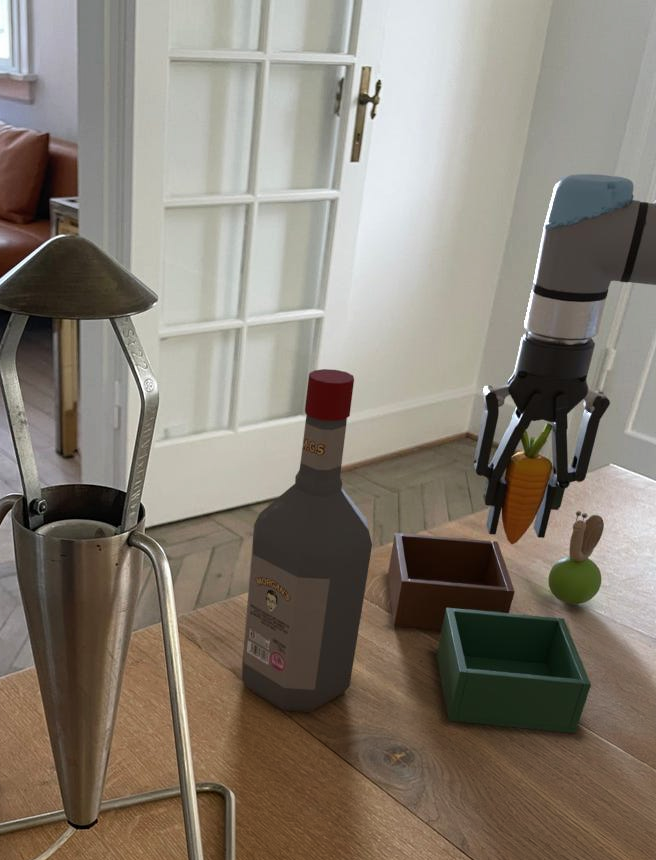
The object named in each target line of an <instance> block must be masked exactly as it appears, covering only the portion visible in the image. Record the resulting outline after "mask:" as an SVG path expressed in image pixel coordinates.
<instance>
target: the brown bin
mask: <svg viewBox="0 0 656 860" xmlns="http://www.w3.org/2000/svg"><path fill="white" fill-rule="evenodd" d="M389 559H390V560H389V565H388V570H387V580H388V589H389V597H390V606H391V613H392V622H393V626H394V627H397V628H398V627H400V628H410V629H420V630H430V631H431V630H432V631H441V630H442V625H443V621H444V616H445V611H446V608H453V609H454V608H455V609H466V610H477V611H488V612H499V613H510V611H511V607H512V604H513V599H514V596H515V588H514V585H513V583H512V580H511V577H510V574H509V571H508V568H507V565H506V563H505V559H504V556H503V554H502V550H501V547H500V544H499V542H498V541H495V540H484V539H473V538H472V539H470V538H460V537H448V536H437V535H425V534H414V533H413V534H412V533H401V532H395V533H394V536H393V542H392V548H391V554H390V558H389Z"/></svg>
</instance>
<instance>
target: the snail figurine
mask: <svg viewBox="0 0 656 860" xmlns="http://www.w3.org/2000/svg"><path fill="white" fill-rule="evenodd" d="M575 515H576V519H575V522H574V523H573V525H572V533H571V536H570V541H569V555H568V556H565V557H563V558H561V559H559V560H558V561H557V562H556V563H555V564H554V565H553V566H552V567H551V569H550V570H549V571H550V572H549V574H548V586H549V589H550V592H551V593H552V595H553V596H554V598H556V599H557V600H558V601H560V602H561V603H565V604H568V605H581V604H585V603H587V602H589V601H590V600H592V599H593V598H594V597H595V596H596V595H597V594H598V592H599V590H600V588H601V586H602V574H601V570H600V568H599V567H598V565H597V564H596V563H595V562H594V561H593V560H592V559H590V558H589V557H591V555H592V554H593V552H594V550H595V548H597V546H598V544H599V542H600V541H601V538H602V535H603V532H604V529H605V527H604V526H605V523H604V519H603V517H601V515H599V514H598V515H597V514H592V515H590V516H588V514H587V513H586V512H583V513H582V511H581V510H577V511H576V512H575ZM580 516H581V518H582V520H581V519H579V517H580Z"/></svg>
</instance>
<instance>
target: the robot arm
mask: <svg viewBox="0 0 656 860" xmlns="http://www.w3.org/2000/svg"><path fill="white" fill-rule="evenodd" d="M634 188H635V186H634V183H633V181H632V180H631V179H629V178H626V177H622V176H618V175H615V176H613V175H607V174H593V173H592V174H591V173H584V174H583V173H582V174H581V173H579V174H569V175H566V176H564V177H562V178H561V179H560V180H559V181H558V182H557V183H556V184H555V186H554V187H553V190H552V195H551V199H550V202H549V206H548V209H547V210H548V211H547V215H546V219H545V222H544V226H543V231H542V235H541V241H540V246H539V250H538V251H539V252H538V256H537V257H538V258H537V261H536V267H535V273H534V276H533V283H532V287H531V293H530V298H529V302H528V307H527V312H526V314H525V315H526V316H525V320H524V324H523V326H524V329H525V330H526V332H524V334H523V335H521V339H520V344H519V349H518V354H517V358H516V363H515V368H514V372H513V374H512V375H511V377H510V378H509V379H508V381H507V383H505V384H501V385H498V386H495V387H494V386H492V385H485V386H484V387H483V388H482V397H483V404H484V408H483V413H482V419H481V423H480V428H479V432H478V438H477V442H476V447H475V451H474V458H473V462H472V465H473V468H474V471H475V473H476V475H477V476H480V477H481V476H482V477H484V478H486V480H485V485H484V491H483V495H482V498H483V502H484V505H485V506H489V508H488V513H487V518H486V522H485V524H486V529H487V531H488V534H489V535H496V534H497V530H498V525H499V522H500V516H501V513H502V503H503V499H504V494H505V489H506V485H507V483H506V481H505V473H506V468H507V466H508V464H509V462H510V460H511V458H512V456H514V455H515V452H516V449H517V448H518V447H519V444H520V442H521V438H522V436H523V434H524V432H525V430H526V431H527V430H528V429H529V428H530V425H531V423H532V422H538V421H546V422H547V423H550V424H551V426H552V429H551V431H550V433H551V453H552V454H551V457H552V459H551V460H552V475H553V476H552V477H550V478H549V481H548V485H547V488H546V492H545V495H544V498H543V501H542V503H541V505H540V508H539V510H538V512H537V514H536V516H535V518H534V523H533V529H534V532H535V534H536V537H537V538H541V539H544V538H545V537H546V532H547V528H548V524H549V520H550V516H551V512H552V510H554V511H559V509H560V508H561V507H562V502H563V498H564V495H565V490H566V489H567V488H569V487H570V483H574V482H577V483H581V482H583V481H585V480H586V477H587V473H588V469H589V465H590V462H591V457H592V454H593V449H594V446H595V442H596V437H597V434H598V430H599V426H600V422H601V419H602V417H603V416H604V414H605V413H606V411H607V409H608V408H609V407H610V404H611V401H610V399H609V398H608V397H607V395H606V394H605V393H604V392H603V391H595V390H592V389H589V386H588V381H587V378H588V375H589V371H590V367H591V362H592V360H593V354H594V351H595V347H596V343H595V342H594V339H593V338H596V336H597V335H598V334H599V330H600V327H601V322H602V317H603V314H604V309H605V305H606V301H607V297H608V294H609V288H610V285H611V283H612V282H620V283H632V284H641V285H650V286H651V285H652V286H656V200H655V201H654V202H647V201H641V200H635V199H634V197H635V196H634V193H633V192H634ZM508 396H510V397H511V399H512V401H513V403H514V405H515V409H514V411H513V413H512V416H511V420H510V422H509V424H508V426H507V427H506V430H505V432H504V434H503V437H502V439H501V441H500V443H499V445H498V447H497V449H496V451H495V453H494V455H493V456H492V459H491V461H490V457H491V453H492V448H493V443H494V439H495V434H496V430H497V424H498V420H499V414H500V413H499V412H500V407H501V408H502V406H504V404H505V400H506V398H507V397H508ZM582 401H583V404H582V407H583V408H584V410H583V414H582V418H581V421H580V427H579V431H578V435H577V439H576V443H575V448H574V451H573V454H572V455H573V456H572V459H571V464H570V467H569V457H568V429H569V427H568V423H569V421H568V414H570V412H572V410H573V409H575V408H576V407H577V406H578V405H579V404H580V403H581V402H582ZM489 462H490V463H489Z"/></svg>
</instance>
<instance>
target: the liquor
mask: <svg viewBox="0 0 656 860" xmlns="http://www.w3.org/2000/svg"><path fill="white" fill-rule="evenodd" d="M307 380H308V381H307V388H306V397H305V404H304V405H305V406H304V413H305V416H306V417H305V421H304V422H305V423H304V431H303V438H302V447H301V455H300V456H301V457H300V463H299V469H298V471H297V473H296V475H295V476H294V477H295V479H294V484H293V485H291V486H290V487H289V488H288V489H286V491H284V492H283V493H282V494H281V495H279V497H277V498H276V499H274V501H272V502H271V503H269V505H267V506H266V507H265V508H264V509H262V510H261V511H260V512H259V514H258V516H257V518H256V520H255V522H254V523H253V535H252V544H251V545H252V546H251V555H250V556H251V557H250V567H249V569H250V570H249V580H248V592H247V593H248V594H247V604H246V615H245V626H244V627H245V628H244V639H243V650H242V663H241V667H242V668H241V680H242V682H243V684H244V685H245V687H246V688H247V689H249V690H251V691H252V692H254V693H255V694H257V695H259V697H261V698H263V699H264V700H266V701H267V702H269V703H270V704H272V705H274V707H277V708H278V709H280V710H282V711H285V712H304V713H311V712H313V711H314V710H316V709H318V708H320V707H321V706H323V705H325V704H327V703H329V702H330V701H332V700H333V699H336V698H337V697H339V696H341V695H342V694H344V693H345V692H346V691H347V689H348V688H350V686H351V679H352V672H353V668H354V667H353V666H354V661H355V655H356V648H357V641H358V636H359V629H360V625H361V624H360V623H361V618H362V612H363V611H362V610H363V604H364V600H365V599H364V598H365V593H366V586H367V580H368V574H369V567H370V561H371V555H372V549H373V542H372V539H371V538H372V537H371V533H370V530H369V525H368V521H367V518H366V517H365V516H364V514H363V513H362V512H361V510H360V509H359V508H358V506H356V504H355V502H354V501H353V500H352V499H351V498H350V496H349V495H348V494H347V492H346V491H345V490H344V488H343V479H342V475H341V473H342V464H343V456H344V447H345V440H346V439H345V438H346V431H347V424H348V423H347V422H348V418H349V417H350V416H351V407H352V400H353V391H354V385H355V377H354V375H353V374H351V373H349V372H347V371H343V370H339V369H329V368H328V369H326V368H323V369H315V370H313V371H311V372H309V373H308V379H307Z"/></svg>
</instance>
